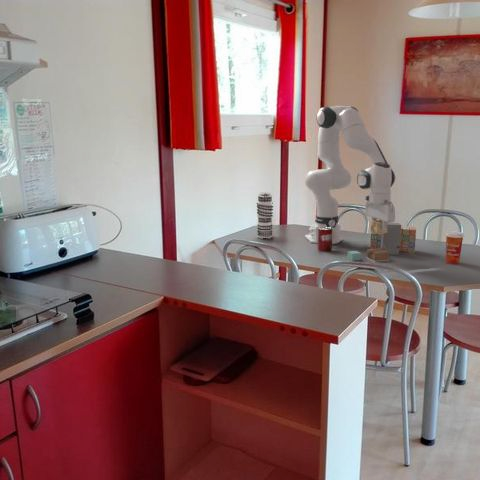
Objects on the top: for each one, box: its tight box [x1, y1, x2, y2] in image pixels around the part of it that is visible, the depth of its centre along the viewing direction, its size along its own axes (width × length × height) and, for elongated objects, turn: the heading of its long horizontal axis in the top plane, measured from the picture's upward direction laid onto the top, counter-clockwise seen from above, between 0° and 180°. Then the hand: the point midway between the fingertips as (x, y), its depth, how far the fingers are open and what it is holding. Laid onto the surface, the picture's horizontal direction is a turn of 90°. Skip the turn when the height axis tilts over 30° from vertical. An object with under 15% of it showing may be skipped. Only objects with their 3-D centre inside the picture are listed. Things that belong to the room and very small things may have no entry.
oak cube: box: [370, 219, 388, 234], centre depth 245 cm, size 6×6×5 cm
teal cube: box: [346, 250, 362, 262], centre depth 249 cm, size 4×4×4 cm
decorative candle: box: [256, 191, 274, 239], centre depth 297 cm, size 9×9×25 cm
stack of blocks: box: [369, 225, 417, 255], centre depth 266 cm, size 21×6×12 cm, turn 75°
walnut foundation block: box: [366, 248, 389, 262], centre depth 248 cm, size 7×7×4 cm
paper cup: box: [445, 230, 465, 265], centre depth 244 cm, size 8×8×14 cm
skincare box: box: [380, 222, 402, 256], centre depth 258 cm, size 8×7×16 cm
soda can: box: [317, 227, 333, 253], centre depth 266 cm, size 7×7×12 cm
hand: (379, 228), depth 245 cm, fingers closed on oak cube, 5 cm apart
